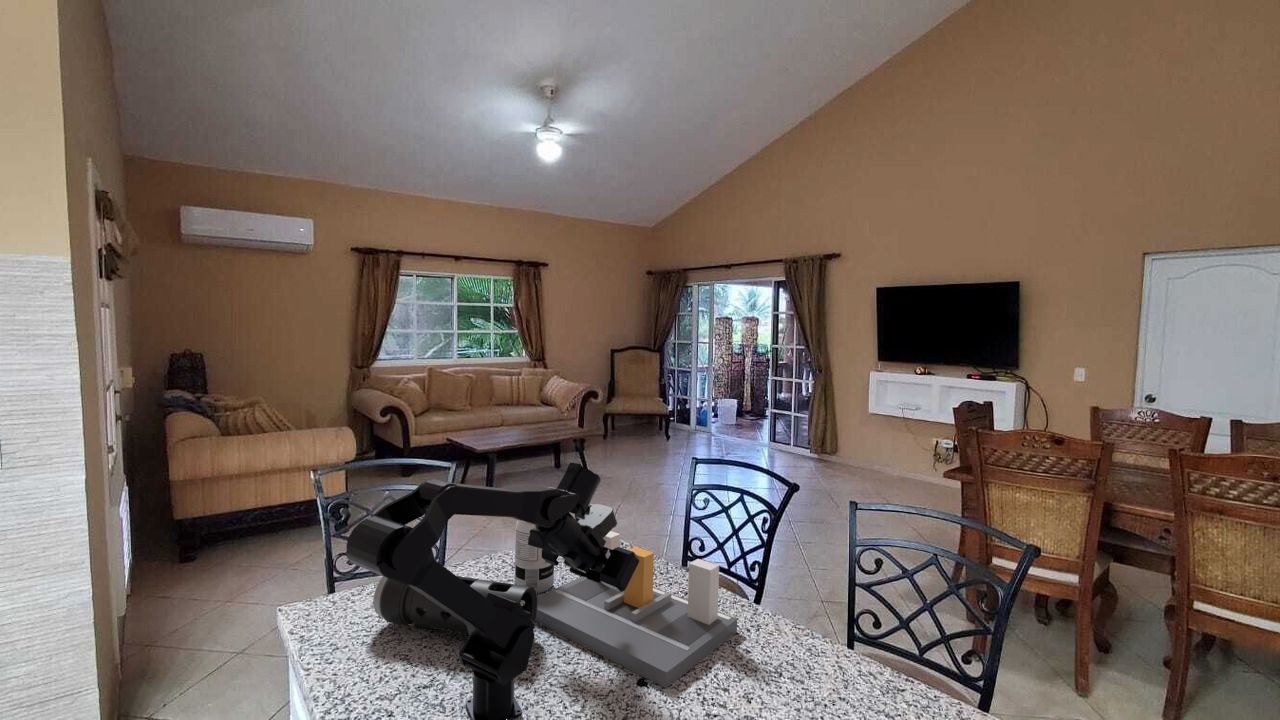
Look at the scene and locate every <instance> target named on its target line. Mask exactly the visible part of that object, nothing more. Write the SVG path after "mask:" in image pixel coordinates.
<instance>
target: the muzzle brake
mask: <svg viewBox="0 0 1280 720" xmlns="http://www.w3.org/2000/svg"><path fill="white" fill-rule="evenodd" d="M456 576H457V577H459V578H460V579H461V580H462V581H464V582H465V583H466V584H468V585H469V586H470V587H472V588H473V589H474V590H476V591H477V592H478V593H480V594H481V595H482V596H484V597H485V598H486V597H487V595H488V592H491V593H493V594H496V595H499V596H501V597H504V598H507V599H509V600H512V601H514V602H517V603H518V604H519V605H520V606H521V607H522V608H523V610H525V611H527V612H530V613H532V616H531V617H530V619H531V620H532V621H533V622H534V623H535V618H536V613H537V596H538V594H536V591H535V589H534V588H533V587H529V586H522V585H515V583H507V582H500V581H494V580H493V581H492V580H487V579H479V578H472V577H465V576H458V575H456ZM521 601H524V602H525V604H524V603H523V604H521ZM372 604H373V610H374V612H375V614H376V615H378V616H379V617H381V618H383V619H384V621H386V622H387V623H390V624H395V625H396V624H397V625H403V626H410V625H414V628H415V629H417V630H424V631H427V632H432V631H433V630H434V629H435V630H442V631H448V632H454V633H459V634H460V636H465V635H468V636H469V635H470V634H469V633H468V630H467V626H466V624H465V623H463V622H462V621H460V620H459V619H457V618H456V617H454V616H453V615H451V614H450V613H448V612H447V611H445V610H444V609H442V608H441V607H439V606H438V605H437V604H435V603H434V602H432V601H431V600H429V599H428V598H426V597H425V596H423V595H422V594H420V593H419V592H417V591H416V590H414V589H413V588H411V587H410V586H408V585H406V584H403V583H400V582H397V581H394V580H391V579H388V578H386V577H384V576H381V579H379V582H378V584H377V586H376V588H375V591H374V594H373V603H372Z"/></svg>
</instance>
